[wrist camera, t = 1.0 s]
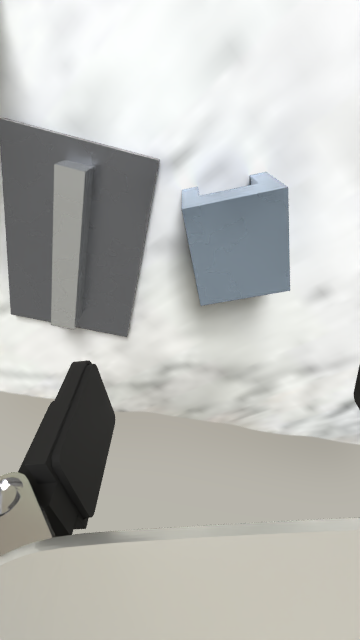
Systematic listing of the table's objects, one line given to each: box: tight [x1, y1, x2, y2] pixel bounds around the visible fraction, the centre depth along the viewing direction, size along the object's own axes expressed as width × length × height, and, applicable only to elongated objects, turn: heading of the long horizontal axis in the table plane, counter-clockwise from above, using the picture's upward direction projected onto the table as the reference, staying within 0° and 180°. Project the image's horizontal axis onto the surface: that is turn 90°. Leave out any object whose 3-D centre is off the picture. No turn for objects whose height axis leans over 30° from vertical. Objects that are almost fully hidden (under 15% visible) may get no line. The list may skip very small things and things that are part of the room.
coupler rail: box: [0, 118, 160, 337], centre depth 26 cm, size 11×16×3 cm
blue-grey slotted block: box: [182, 172, 290, 306], centre depth 24 cm, size 6×7×6 cm
